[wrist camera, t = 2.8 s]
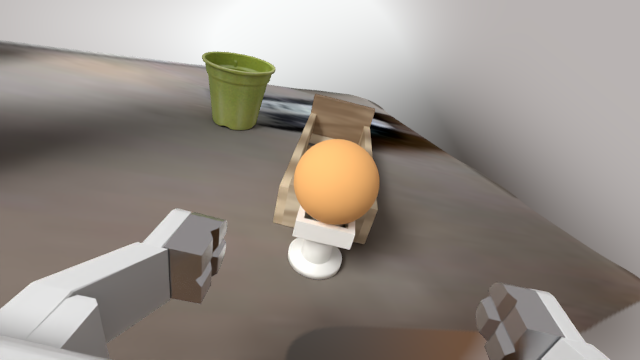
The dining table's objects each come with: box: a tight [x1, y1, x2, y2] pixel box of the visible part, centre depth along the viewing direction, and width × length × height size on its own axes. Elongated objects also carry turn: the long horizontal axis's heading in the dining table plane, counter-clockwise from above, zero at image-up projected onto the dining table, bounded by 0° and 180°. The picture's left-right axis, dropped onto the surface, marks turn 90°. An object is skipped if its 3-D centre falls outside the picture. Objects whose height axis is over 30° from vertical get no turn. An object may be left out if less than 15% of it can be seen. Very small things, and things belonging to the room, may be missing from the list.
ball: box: [294, 139, 379, 225], centre depth 22 cm, size 6×6×6 cm
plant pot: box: [202, 52, 275, 130], centre depth 44 cm, size 9×9×9 cm
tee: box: [288, 205, 355, 280], centre depth 25 cm, size 4×4×5 cm
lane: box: [273, 94, 378, 244], centre depth 37 cm, size 22×9×7 cm, turn 174°
